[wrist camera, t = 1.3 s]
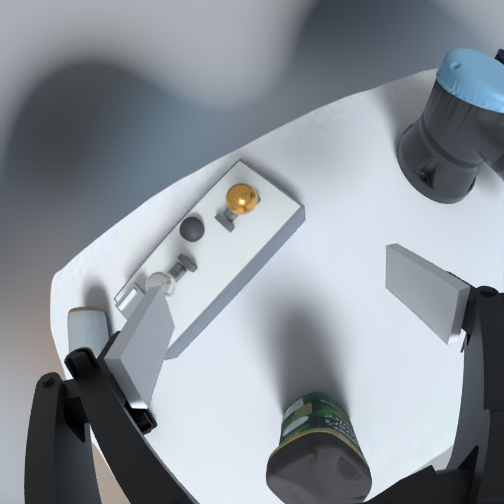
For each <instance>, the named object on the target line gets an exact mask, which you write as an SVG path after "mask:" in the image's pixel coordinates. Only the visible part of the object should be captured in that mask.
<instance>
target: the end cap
mask: <svg viewBox="0 0 504 504" xmlns="http://www.w3.org/2000/svg"><path fill="white" fill-rule="evenodd" d="M124 407H125V408H126V410H127V411H128V413H129V414H130V416H131V418H132V419H133V421H134V422H135V424H136V425H137V427H138V428H139V430H140V431H141V433H142V434H143V436H144V435H145V434H147V433H150V432H151V430H152V429H154V428H155V427H157V423H156V421H155V420H154V418H153V417H152V415H151V414H150V412H149V410H148V409H147V408H132V407H131V405H130V404H129V402H128V401H127V399H126V401H125V404H124Z"/></svg>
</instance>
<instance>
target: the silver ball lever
mask: <svg viewBox="0 0 504 504" xmlns="http://www.w3.org/2000/svg"><path fill="white" fill-rule="evenodd" d="M186 272H187V269H186V268H185V267H184V266H183V265H182V264H181V263H179V262H178V261H177V262H176V263H175V264H174V265H173V267H172V268H171V269H170V270H169V271H168V272H165V271H156V272H154V273H152V274H151V275H150V276H149V277H148V278H147V281H146V284H145V288H146V292H147V291H148V289H149V288H150V287H155V286H161V285H162V288H163V291H164V294H165V297H166V301H169V300H170V299H171V298H172V297H173V296H174V294H175V292H176V283H177V282H178V281H179V280H180V279H181V278H182V276H183V275H184V274H185V273H186Z"/></svg>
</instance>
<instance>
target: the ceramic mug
mask: <svg viewBox="0 0 504 504" xmlns="http://www.w3.org/2000/svg"><path fill="white" fill-rule="evenodd" d="M67 323H68V340H69V353H70V352H72V351H74V350H75V349H78V348H82V347H88V348H90V349H91V350H92V351H93V353H94V355H95V356H99V354H100V353H101V351H102V350H103V348H104V346H105V345H107V344H106V343H107V342H108V340H109V335H108V329H107V320H106V316H105V313H104V311H103V310H102V309H100V308H95V307H78V308H73V309H71V310H70V311H69V312H68V321H67Z"/></svg>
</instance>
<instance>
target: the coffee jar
mask: <svg viewBox="0 0 504 504" xmlns="http://www.w3.org/2000/svg"><path fill="white" fill-rule="evenodd" d="M266 482H267V485H268V487H269V488H270V490H271V491H272V492H273V493H274V494H275V495H276V496H277V497H278V498H279V499H280V500H281V501H283V502H284V503H285V504H355V503H362V502H363V501H364V500H365V498H366V497H367V495H368V494H369V492H370V490H371V486H372V478H371V473H370V469H369V466H368V464H367V462H366V460H365V458H364V456H363V453H362V451H361V449H360V446H359V444H358V441H357V438H356V436H355V433H354V430H353V427H352V424H351V422H350V420H349V418H348V417H347V415H346V414H345V413H344V411H343V410H342V409H341V408H340V407H339V406H338V405H337V404H336V403H335V402H334V401H333V400H332V399H331V398H329V397H328V396H327V395H325V394H322V393H310V394H308V395H306V396H304V397H302V398H300V399H299V400H297V401H296V402H295V403H293V404H292V405H291V406H290V407H289V408H288V409H287V410H286V411H285V413H284V415H283V419H282V427H281V436H280V442H279V446H278V447H277V448H276V449H275V450H274V451H273V453H272V454H271V455H270V457H269V460H268V463H267V471H266Z"/></svg>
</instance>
